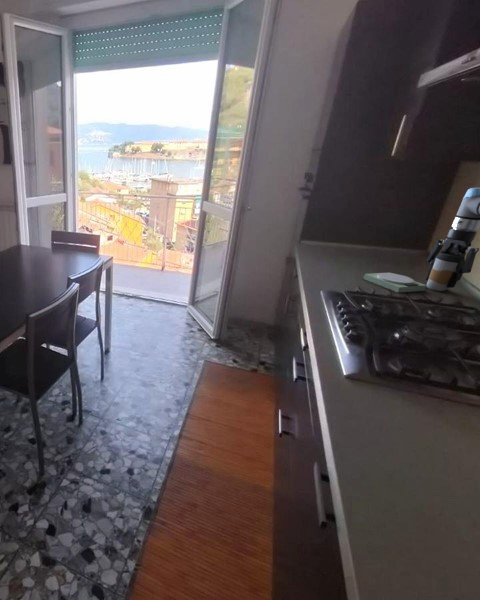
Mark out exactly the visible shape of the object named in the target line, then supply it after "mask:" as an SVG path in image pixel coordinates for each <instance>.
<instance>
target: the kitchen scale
mask: <svg viewBox="0 0 480 600" xmlns="http://www.w3.org/2000/svg"><path fill="white" fill-rule="evenodd" d="M363 280H365V281H367V282H370V283H372V284H375V285H378V286H380V287H383V288H385V289H386V290H387V289H388V290H390V291H392V292H395V293H397V294H399V293H412V292H425V291H426V289H427V288H428V287H427V284H424V283H421V282H418V281H416V280H414V279H413V278H412V277H409V276H406V275H402V274H399V273H393V272H391V271H389V272H374V273H365V274H364V276H363Z"/></svg>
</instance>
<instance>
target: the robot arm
mask: <svg viewBox="0 0 480 600" xmlns="http://www.w3.org/2000/svg"><path fill="white" fill-rule="evenodd" d="M479 229H480V187H470V188H469V189H467V190H466V192H465V194H464V196H463V197H462V201H461V204H460V205H459V207H458V210H457V212H456V215H455V216H454V219H453V221H452V224H451V228H449V230H448V233H447V235H446V237H447V238H445V239H436V240H435V243H434V244H435V245H434V246H433V248H432V249H431V251H430V253H429V255H428V256H427V258H426V260H425V262H426V263H428V264H429V266H428V268H427V272H428V273H427V275H426V277H425V281H427V282H428V279H429V276H430V273H431V270H432V268H433V265H434V263H435V260H436V256H437V255H438V254H439V253H440V252H443V253H450V252H453V253H455V256H458V257H464V258H463V261H459V263H458V265H457V266H456V272H453V274H452V276H451V278H450V280H449V283H448V285H447V288H448V289H451V288H452V289H453V288H455V286H456V285H457V282H460V280H461V279H462V277H463V275H464V274H469V273H471V272H472V269H473V265H474V262H475V259H476V255H477V253H478V252H479V251H480V248H479V247H474V246H472V242H473V241H474V240H475V238H476V235H477V233H478V231H479ZM459 260H461V259H459Z"/></svg>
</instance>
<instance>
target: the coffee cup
mask: <svg viewBox="0 0 480 600" xmlns="http://www.w3.org/2000/svg"><path fill="white" fill-rule="evenodd" d="M463 258H464V257H458V256H455V253H453V252H450V253H443V252H441V251H440V252H439V253H438V255H437V256H436V260H435V263H434V265H433V268H432V270H431V273H430V276H429V279H428V281H427V282H426V285H427V287H426V288H428V289H430V290H432V291H436V292H437V291H438V292H445V291H447V290H448V289H449V288H447V285H448V283H449V280H450V278H451V276H452V274H453V272H456V266H457V265H458V263H459V261H463ZM459 259H461V260H459Z"/></svg>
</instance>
